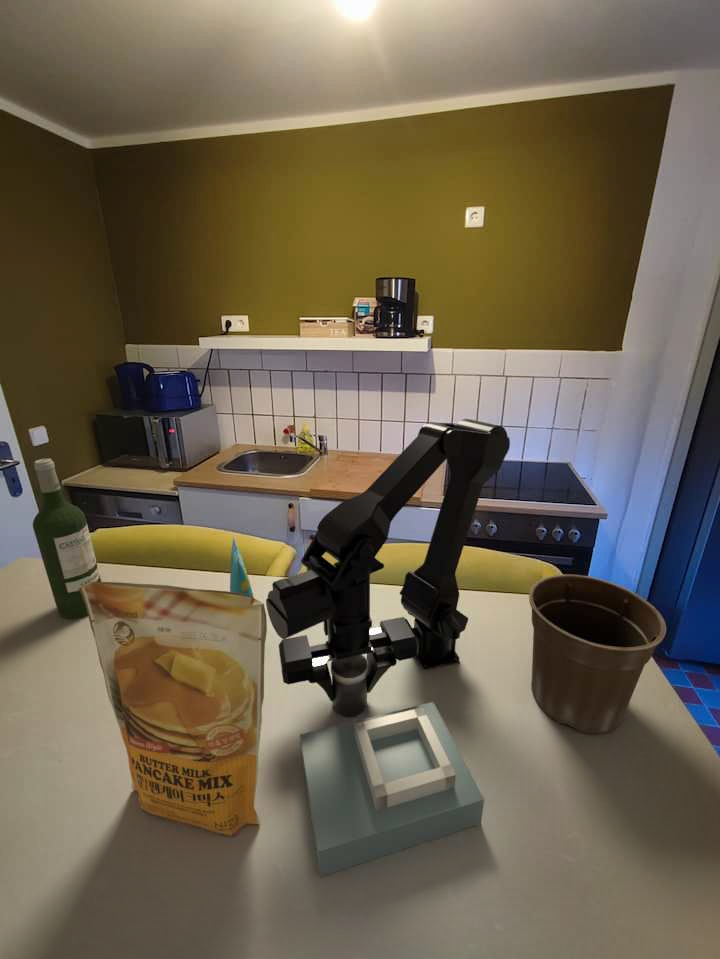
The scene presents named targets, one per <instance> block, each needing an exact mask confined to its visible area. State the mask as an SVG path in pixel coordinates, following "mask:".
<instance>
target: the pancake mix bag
mask: <svg viewBox="0 0 720 959" xmlns="http://www.w3.org/2000/svg"><path fill="white" fill-rule="evenodd" d="M79 591H80V592H81V594H82V597H83V600H84V602H85V605H86V609H87V612H88V615H87V616H88V619H89V620H88V621H89V623H90V624H89V626H90V628H91V632H92V633H93V634H92V635H93V637H94V641H95V645H96V648H97V654H98V660H99V663H100V667H101V670H102V673H103V676H104V683H105V689H106V692H107V697H108V700H109V702H110V704H111V708H112V710H113V713H114V715H115V719H116V722H117V724H118V727H119V730H120V734H121V735H120V736H121V739H122V741H123V744H124V746H125V749H126V753H127V757H128V767H129V768H128V769H129V772H130V777H131V789H132V790H133V791H135V792H136V793H138V803H139V806H140V808H141V809H142V810H144V811H145V812H146V813H148V814H149V815H151V816H154V817H158V818H162V819H165V820H169V821H172V822H175V823H179V824H183V825H187V826H191V827H195V828H198V829H202V830H204V831H207V832H210V833H214V834H218V835H221V836H227V837H228V836H229V837H235V836H236V835H238V833H239V832H241V830H243V828H244V827H246V826H247V825H261V822H260V819H259V816H258V813H257V811H256V809H255V802H256V801H255V800H256V793H257V784H258V775H259V774H258V771H259V753H260V741H261V740H260V739H261V731H262V722H263V721H262V719H263V718H262V717H263V716H262V714H263V712H262V710H263V704H264V699H265V651H266V650H265V647H266V639H267V638H266V637H267V632H268V625H267V624H268V622H267V613H266V608H265V603H264V602H262V601H260V600H258V599H256V598H255V597H254V596H253V597H254V598H253V597H252V596H249V595H245V594H241V593H237V592H230V591H226V590H215V589H214V590H213V589H201V588H200V589H197V588H188V587H182V586H174V585H168V584H167V585H165V584H155V583H154V584H152V583H131V582H130V583H129V582H115V581H101V582H91V583H89V584H87V585H85V586H83V587H81V588H79Z"/></svg>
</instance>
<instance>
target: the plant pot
mask: <svg viewBox="0 0 720 959" xmlns="http://www.w3.org/2000/svg"><path fill="white" fill-rule="evenodd" d="M528 600H529V605H530V607H531V624H532V627H533V636H532V660H531V661H532V664H531V666H532V667H531V682H530V683H531V684H530V685H531V692H532V695H533V697H534V699H535V700H536V703H537V704H538V706H540V708H541V709H542V710H543V711H544V712H545V713H546V714H547V715H548V716H549V717H550V718H552V719H553V720H555V721H556V722H557V723H559V724H561V725H562V724H563V725H569V726H570V727H572V728H574V729H575V730H576V731H577V732H580V733H585V734H595V735H596V734H605V733H608V732H611V731H613V730H615V729H616V728H618V727H619V726H620V725H621V723H622V721H623V719H624V716H625V714H626V711H627V709H628V706H629V704H630V701H631V699H632V697H633V695H634V694H633V693H634V692H635V689H636V688H637V687H636V686H637V684H638V682H639V679H640V677H641V675H642V673H643V670H644V667H645V665H646V664H647V663H648V662H649V661H650V660H651V659H652V656H653V654H654V651H655V649H656V648H657V646H659V645H660V644H661V643H662V642H663V640H664V638H665V636H666V633H667V625H666V621H665V619H664V618H663V615H662V614H661V613H660V611H659V610H657V609H656V607H655V606H653V605H652V604H651V603H650V602H649V601H647V600H646V599H644V598H643V597H642V596H640V595H639V594H637V593H636V592H634V591H631V590H630V589H628V588H626V587H623V586H621V585H619V584H616V583H614V582H611V581H608V580H604V579H601V578H597V577H592V576H588V575H581V574H569V573H568V574H565V573H564V574H556V575H555V574H554V575H549V576H547V577H544V578H541V579H540V580H537V581H536V582H534V584H533V585H532V586H531V587H530V589H529V593H528Z"/></svg>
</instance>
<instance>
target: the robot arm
mask: <svg viewBox="0 0 720 959" xmlns="http://www.w3.org/2000/svg"><path fill="white" fill-rule="evenodd" d="M510 441H511V439H510V437H509V436H508V433H507V431H506V429H505V427H503V426H502V425H499V424H498V425H497V424H492V423H488V422H484V421H480V420H476V419H471V418H470V419H469V418H464V419H461V420H460V421H458V422H457V423H446V422H445V423H444V422H442V423H436V422H429V423H425V424H424V425H422V426H421V427H420V429H419V431H418V434H417V436H416V437H415V438H414V439H413V440H412V441H411V443H409V444H408V446H407V447H406V448H405V449H403V451H402V452H401V453H400V454H399V455H398V456H397V457H396V458H395V459H394V460H393V461H392V462H391V463H390V465H389V466H388V467H386V469H385V470H384V471H383V472H382V473H381V474H380V476H378V478H377V477H376V479H375V481H373V483H372V484H371V485H370V486H369V487H368V488H367V489H366V490H365V491H363V492H362V493H360V494H359V495H357V496H354V497H351V498H349V499H345V500H343V501H342V502H341V503H339V504H338V505H337V506H336V507H334V508H333V509H331V510H330V511H329V512H328V513H326V514H325V515H324V516H323V518H321V520H320V522H318V525H317V527H316V529H317V531H316V533H315V535H314V537H313V538H312V540H311V542H310V543H309V545H308V548H307V549H306V551H305V552H304V554H303V556H302V558H301V560H300V561H301V562H300V563H301V564H302V565H303V566H304V567H306V571H303V572H301V573H297V574H296V575H293V576H290V577H286V578H281V579H277V580H276V581H273V582H272V586H271V587H272V590H269V592H268V594H267V598H266V599H265V606H266V609H267V610H266V611H267V615H268V617H269V621H270V623H271V625H272V627H273V629H274V631H275V633H276V634H277V635H278V637H279V638H280V639H281V640H280V642H279V644H278V651H279V661H280V669H281V675H282V682H283V683H284V684H287V685H292V684H293V685H294V684H297V683H301V682H306V681H308V683H310V684H317V685H318V686H320V687H321V689H323V691H324V693H325V694H326V696H327V697H328V699H329V700H330V702H333V701H334V692H333V686H332V675H331V671H330V669H329V666H328V662H332V660H338V659H343V658H348V657H352V656H357V655H366V659H367V662H368V673H367V694H369V693H371V692H372V690H374V688H375V686H376V685H377V683H378V682H379V681H380V679H381V678H382V676H384V675H385V673H387V671H388V670H389V669H390V668H392V667H395V666H396V665H397V663H398V662H397V661H399V662H400V661H405V660H409V659H413V658H415V659H417V661H418V662H419V664H420V666H421V668H422V669H423V670H428V669H432V668H436V667H442V666H446V665H451V664H455V663H459V662H460V656H459V655H458V653H457V651H456V644H457V640H458V639H460V638H461V633H462V632H464V631H466V627H467V625H468V622H469V617H467V615H465V614H463V613H462V612H460V611H459V610H458V609H457V608H458V603H459V599H460V591H459V586H458V580H457V576H456V571H457V569H458V566H459V563H460V558H461V556H462V552H463V550H464V546H465V544H466V540H467V537H468V534H469V530H470V528H471V524H472V521H473V518H474V516H475V513H476V512H475V511H476V508H477V506H478V502H479V498H480V496H481V492H482V490H483V486H484V485H485V484H486V483H487V482H488V481H489V480H491V479H492V477H494V476H495V475H496V474H497V473H498V472H499V471H500V470H501V467H502V465H503V462H504V461H505V458H506V456H507V454H508V452H509V450H510V445H511V442H510ZM445 461H446V462H447V467H448V471H449V479H448V482H447V486H446V490H445V492H444V495H443V499H442V502H441V506H440V508H439V512H438V515H437V519H436V521H435V524H434V529H433V532H432V536H431V538H430V542H429V545H428V547H427V552H426V555H425V558H424V561H423V564H421V565H420V566H419V567H418V568H416V569H415V570H414V571H408V572H406V574H405V578H404V583H403V586H402V588H401V589H400V592H399V595H400V596H401V597H400V604H401V605H402V608H403V609H404V610H405V611H406V613H407V614H408V615H409V616H411V617H413V618H414V622H413V627H412V626H411V624H410V622H409V621H408V619H406V618H405V617H404V616H402V617H395V618H390V619H385V620H381V621H379V627H375V628H372V627H373V619H372V618H371V574H374V573H375V572H378V571H380V570H382V569H384V568H385V564H384V563H383V562H382V561H380V560H379V559H378V558H376V556H377V554H378V553H380V550H381V549H382V547H383V546H384V545H385V543H386V542H387V540H388V538H389V534H390V528H391V523H392V522H393V520H394V518H395V517H396V516H397V514H398V513H399V512H400V511H401V510H402V509H403V508H404V506H406V504H407V503H408V502H409V501H410V500H411V499H412V498H413V497H414V495H415V494H416V493H417V492H418V491H419V490H420V489H421V488H422V487H423V485H425V483H426V482H427V481H428V480H429V479H430V478H431V476H432V475H433V474H435V472H436V471H437V470H438V469H439V468H440V467H441V466H442V465H443V463H444V462H445ZM326 553H327V554H328V555H329V556H331V557H332V558H333V559H335V560H336V561H337V562H335V563H334V564H332V563H330V561H328V560H327V559H326V558H325V557H323V556H324V555H325V554H326ZM321 623H323V633H324V635H325V636H327V641H325V642H324V643H320V644H316V645H315V644H314V645H311V646H310V643H309V639H308V635H307V634H305V635H299V636H295V635H297V634H299V633H301V632H303V631H305V630H308V629H310V628H312V627H315V626H317V625H318V624H321ZM370 628H371V629H370ZM293 636H294V637H293Z"/></svg>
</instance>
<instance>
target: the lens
mask: <svg viewBox="0 0 720 959" xmlns="http://www.w3.org/2000/svg"><path fill="white" fill-rule="evenodd" d="M330 662H331V663H330V675H331V681H332V686H333V692H334V701H332V706H333V709H334V712H336V713H337V714H338V715H340V716H341V717H346V718H355V717H357V716H360V715H361V714H362V713H364V711H365V710H366V708H367V705H368V693H367V673H368V662H367V657H365V656H364V654H362V655H357V656H352V657H348V658H343V659H338V660H332V661H330Z"/></svg>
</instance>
